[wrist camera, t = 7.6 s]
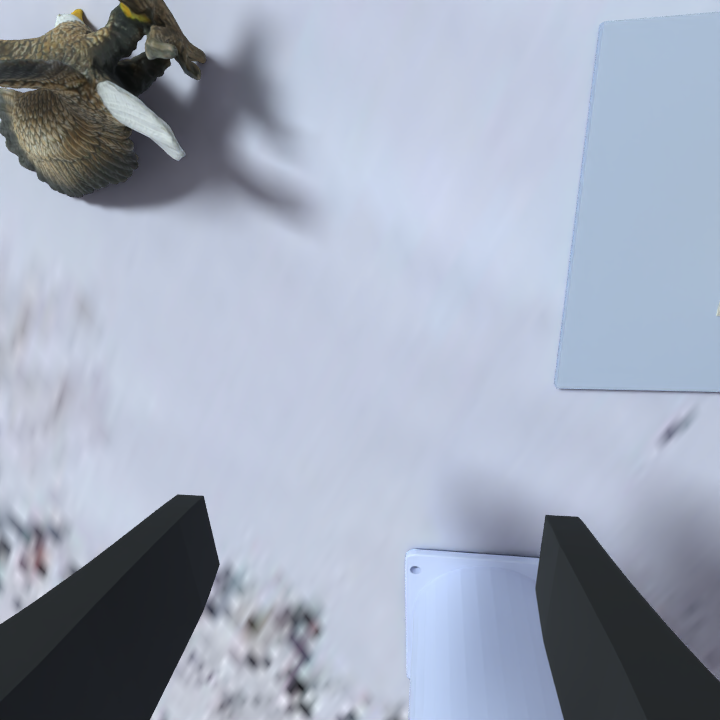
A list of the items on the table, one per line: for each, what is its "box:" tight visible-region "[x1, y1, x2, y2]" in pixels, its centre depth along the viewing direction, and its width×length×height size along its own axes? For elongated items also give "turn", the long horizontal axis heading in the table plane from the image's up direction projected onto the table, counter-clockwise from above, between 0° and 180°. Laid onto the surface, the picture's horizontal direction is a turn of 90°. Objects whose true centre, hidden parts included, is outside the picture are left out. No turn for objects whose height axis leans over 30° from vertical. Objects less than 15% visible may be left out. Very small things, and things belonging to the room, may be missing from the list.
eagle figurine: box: [0, 0, 206, 197], centre depth 15 cm, size 8×7×9 cm
